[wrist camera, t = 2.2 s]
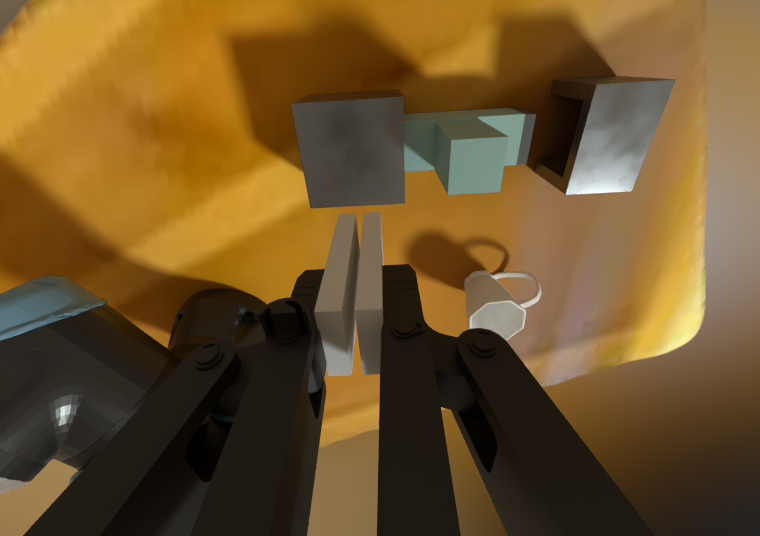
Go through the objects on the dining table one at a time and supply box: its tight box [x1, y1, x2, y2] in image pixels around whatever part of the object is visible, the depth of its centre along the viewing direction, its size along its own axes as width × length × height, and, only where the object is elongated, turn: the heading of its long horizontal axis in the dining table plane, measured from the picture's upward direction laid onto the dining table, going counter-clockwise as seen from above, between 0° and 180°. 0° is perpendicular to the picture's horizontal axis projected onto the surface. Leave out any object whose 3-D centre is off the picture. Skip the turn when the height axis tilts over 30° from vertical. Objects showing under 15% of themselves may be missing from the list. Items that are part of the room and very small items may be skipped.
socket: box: [534, 76, 676, 195], centre depth 30 cm, size 6×9×7 cm
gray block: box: [291, 90, 405, 208], centre depth 30 cm, size 9×9×7 cm
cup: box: [464, 270, 542, 340], centre depth 40 cm, size 7×10×8 cm
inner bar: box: [404, 108, 536, 195], centre depth 28 cm, size 21×4×12 cm, turn 93°
